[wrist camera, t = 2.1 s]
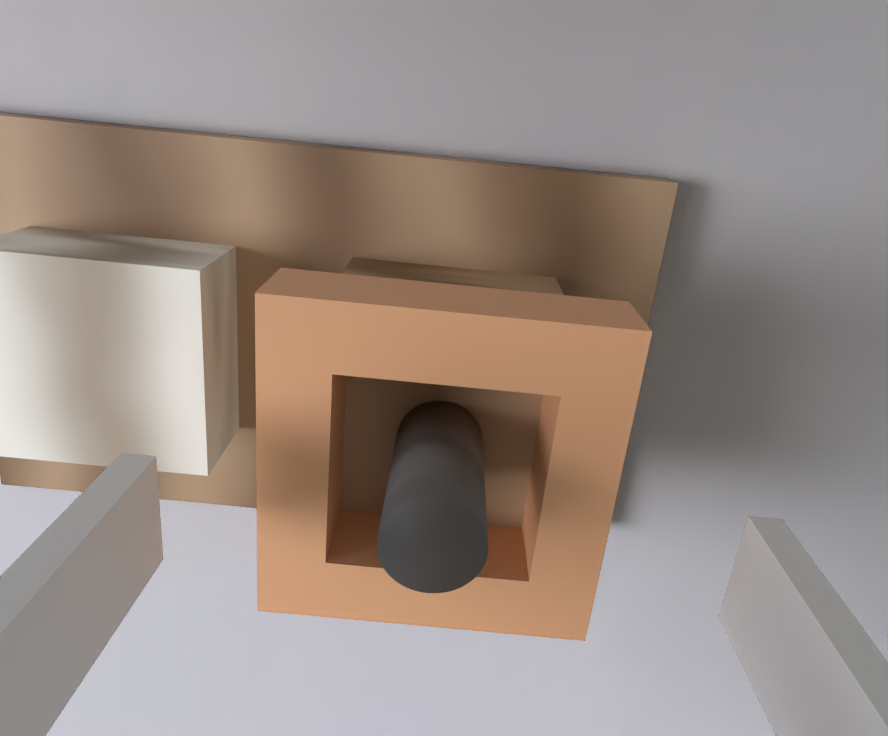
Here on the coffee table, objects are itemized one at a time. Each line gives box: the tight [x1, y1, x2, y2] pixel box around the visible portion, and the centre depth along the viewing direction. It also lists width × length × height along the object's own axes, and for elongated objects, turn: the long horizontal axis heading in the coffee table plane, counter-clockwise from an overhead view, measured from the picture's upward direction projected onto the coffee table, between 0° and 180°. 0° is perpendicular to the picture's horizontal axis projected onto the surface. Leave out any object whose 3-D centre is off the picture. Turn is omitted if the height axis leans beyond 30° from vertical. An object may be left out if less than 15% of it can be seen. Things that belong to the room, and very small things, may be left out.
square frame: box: [255, 268, 652, 641], centre depth 18 cm, size 9×9×2 cm
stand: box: [0, 112, 679, 593], centre depth 20 cm, size 24×14×12 cm, turn 85°
